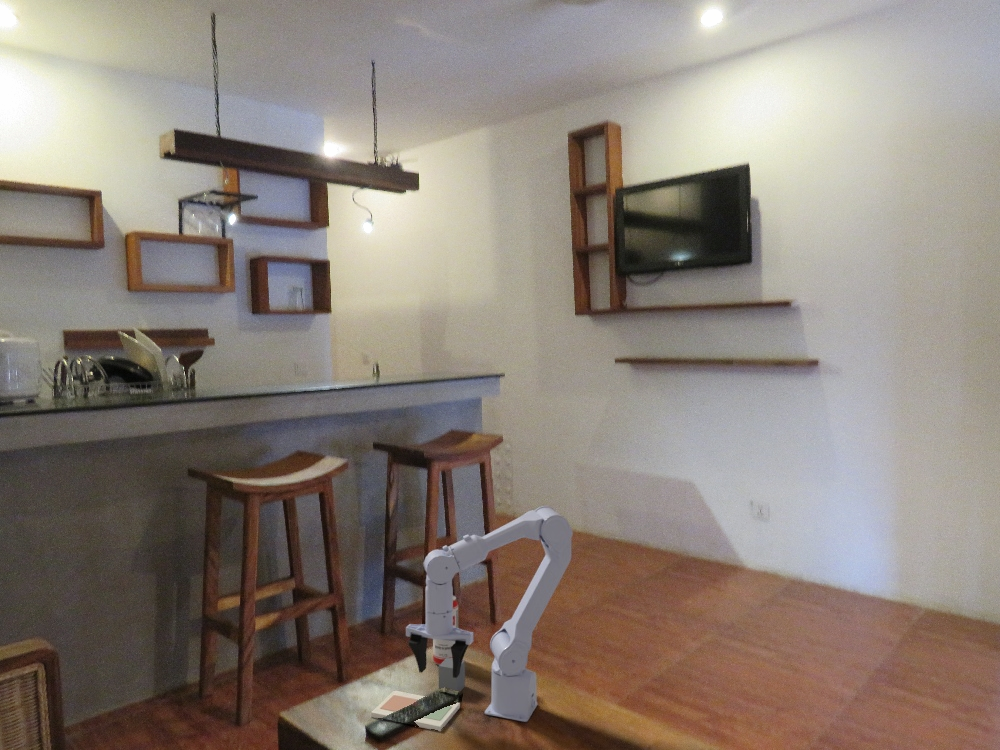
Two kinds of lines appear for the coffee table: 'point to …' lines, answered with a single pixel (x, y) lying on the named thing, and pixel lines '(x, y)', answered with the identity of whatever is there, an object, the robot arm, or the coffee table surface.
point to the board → (403, 699)
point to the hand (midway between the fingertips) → (439, 673)
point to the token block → (451, 675)
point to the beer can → (444, 646)
